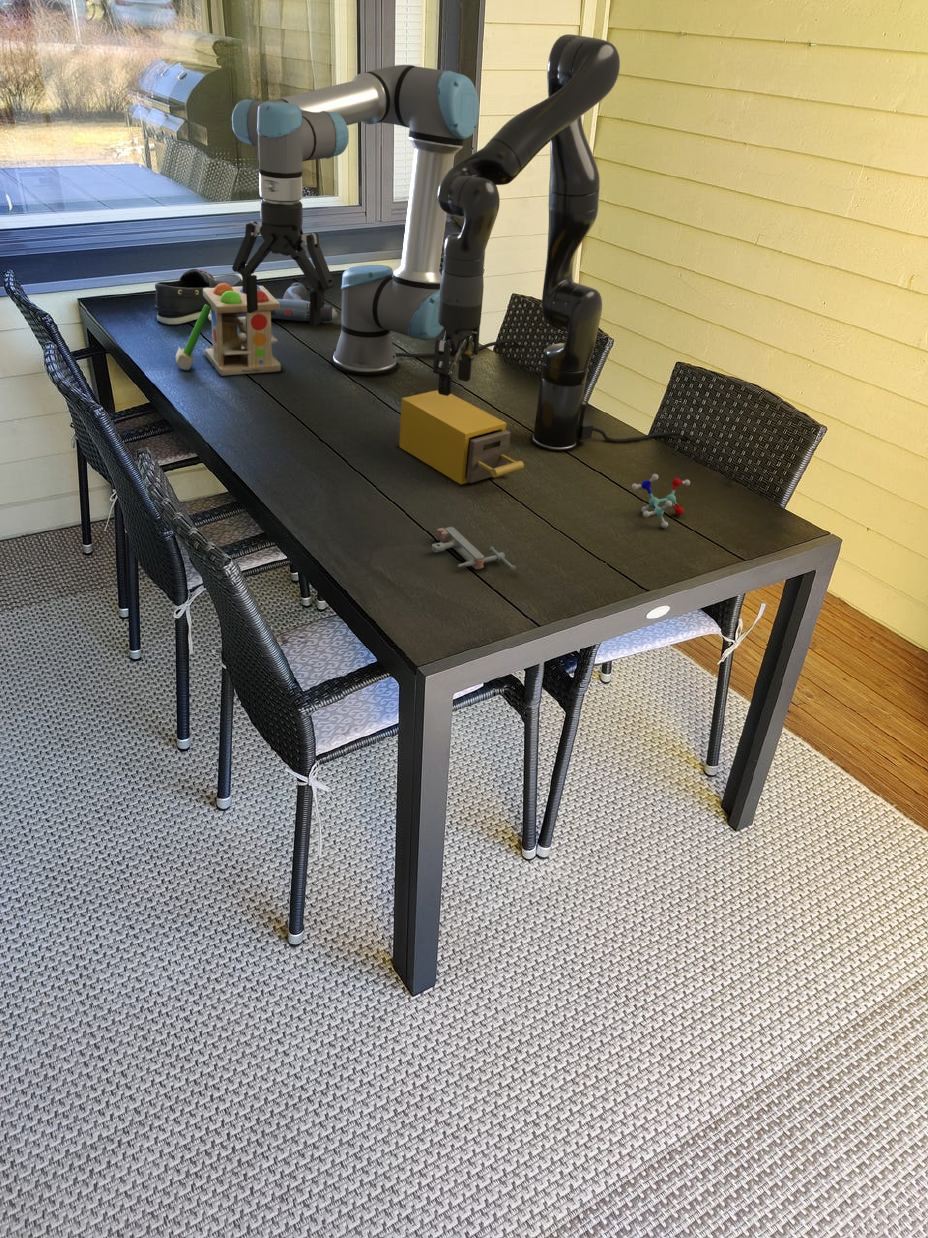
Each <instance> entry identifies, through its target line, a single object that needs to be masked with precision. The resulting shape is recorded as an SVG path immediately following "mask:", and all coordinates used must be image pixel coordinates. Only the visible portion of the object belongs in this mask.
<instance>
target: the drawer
mask: <svg viewBox="0 0 928 1238" xmlns="http://www.w3.org/2000/svg"><path fill="white" fill-rule="evenodd" d="M510 441H511V431H509V430H507V429H506V430H505V431H502V432H498V433H497V430H496V431H492V432H489V433H485V434H481V435H478V436H474V437H470V438H469V443H468V454H467V465H466V474H467V480H466V481H467V482H468V483H469V484H473V483H477V482H479V481H482V480H486V479H489V478H494V479H495V478H498V477H503V476H505V475H509V474H511V473H512V474H513V473H515V472H518V471H521V470H524V468H525V464H524V462H523V460H517V461H516V460H514V459H512V458H511V457H509V448H510Z"/></svg>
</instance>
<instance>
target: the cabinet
mask: <svg viewBox="0 0 928 1238" xmlns="http://www.w3.org/2000/svg"><path fill="white" fill-rule="evenodd" d="M400 405H401V406H400V408H401V409H400V422H399V423H400V424H399V444H398V445H399V446H398V448H401V449H402V450H403V451H405V452H407V453H408V454H410V455H412V456H413V457H415V458H417V459H419V460H420V461H422V462H423V463H425V464H426V465H428V466H430V467H431V468H433V469H435V470H437V471H438V472H440V473H441V474H443V475H444V476H445V477H448V478H449V479H451V480H453V481H454V482H455V483H457V484H459V485H465V484H467V483H469V482H467V481H466V480H467V474H466V465H467V454H468V443H469V438H470V437H474V436H478V435H481V434H485V433H489V432H492V431H496V430H497V433H498V432H502V431H505V430H507V422H505V421H503V420H502V419H499V418H498V417H496V416H494V415H492V414H491V413H489V412H487V411H485V410H482V409H481V408H479V407H478V406H475V405H473V404H471V403H470V402H468V401H465V399H462V398H460V397H459V396H456V395H454V394H452V393H451V394H450V395H448V396H445V395H441V394H439V393H438V389H436V390H432V391H428V392H423V393H418V394H414V395H410V396H409V395H408V396H405V397H401V403H400Z"/></svg>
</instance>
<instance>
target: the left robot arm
mask: <svg viewBox="0 0 928 1238" xmlns="http://www.w3.org/2000/svg"><path fill="white" fill-rule="evenodd" d="M479 115H480V101H479V95H478V92H477V89H476V87H475V85H474V83H473V82H472V80H471V79H470V78H469V77H468V76H466V75H465V74H461V73H459V72H455V71H452V70H442V69H436V68H429V67H423V66H416V65H413V64H399V65H398V64H397V65H392V66H386V67H381V68H377V69H373V70H368V71H364V72H361V73H358V74H356V75H355V76H354V78H352V80H351V81H347V82H343V83H338V84H334V85H330V86H326V87H322V88H317V89H313V90H309V91H305V92H301V93H296V94H292V95H288V96H284V97H279V98H275V99H269V100H266V101H259V100H257V99H242V100H240V101H239V102H237V104H236V105H235V106H234V108H233V111H232V115H231V122H232V123H231V125H232V130H233V133H234V135H235V137H236V138H237V139H238V140H239V141H241V142H243V143H245V144H249V145H251V146H252V147H257V148H258V150H257V151H258V167H259V168H258V170H259V171H258V176H259V177H258V178H259V196H260V198H262V199H261V200H260V201H259V207H260V208H259V210H260V211H259V212H260V213H259V214H260V221H261V224H259V223H258V222H257V221H251V222H249V223H246V224H245V232H244V237H243V239H242V242H241V245H240V247H239V250H238V251H237V252H238V253H237V254H236V257H235V259H234V262H233V264H232V266H231V269H232V271H233V272H235V273H238V274H240V275H241V276H240V277H241V280H242V283H243V292H244V293H245V294H246V295H247V313H252V312H254V311H256V310H258V298H257V285H258V276H257V275H255V271H256V269H257V268H258V267H259V266H260V265H261V263H262V262H264V260H265V258H267V256H268V255H269V254H270V252H271V253H272V254H274V255H277V254H279V255H282V256H286V257H288V256H290V258H291V259H292V260H293V261H295V263H296V264H297V266H298V267H299V269H300V270H301V272H302V274H303V275H304V276H305V278H306V279H307V281H308V282H309V284H310V286H311V287H312V290H309V302H310V321H309V325H310V327H316V326H318V325H320V324H321V322H322V321H321V308H323V307H324V305H325V294H326V293H325V292H326V291H328V290H330V289H331V288H334V286H335V281H334V279H333V276H332V273H331V271H330V269H329V267H328V263H327V261H326V259H325V256H324V254H323V251H322V248H321V246H320V238H319V237H320V236H319V234H318V233H317V232H316V231H315V232H312V233H304V231H303V221H304V219H303V216H304V215H303V214H304V213H303V212H304V211H303V208H304V207H303V203H302V202H301V200H303V162H309V161H314V160H324V159H327V160H330V159H332V158H334V157H338V156H340V155H342V154H343V153H344V152H345V151H346V149H347V147H348V144H349V138H350V135H349V133H350V132H349V128H348V126H351V125H355V124H358V123H363V124H364V125H375V124H389V125H395V126H399V127H404V128H408V129H409V131H408V140H409V142H410V143H411V145H412V146H413V148H414V150H413V158H412V168H411V176H410V185H409V194H408V202H407V211H406V220H405V229H404V237H403V246H402V255H401V261H400V262H401V264H400V266H399V267H397V268H396V269H395V270H394V269H393V268H392V267H391V266H389V265H384V264H361V265H355V266H351V267H349V268H346V269H345V270H344V272H343V273H342V277H341V278H342V280H341V287H340V289H341V293H340V294H341V295H340V296H341V307H340V308H341V310H340V311H341V313H340V314H341V316H340V317H341V319H340V321H341V324H340V325H341V326H340V329H341V330H340V336H339V338H338V341H337V344H336V346H335V347H334V348H333V351H332V353H333V361H332V362H333V363H332V364H333V366H334V367H335V368H337V369H338V370H339V371H342V372H344V373H347V374H352V375H356V376H380V375H381V376H382V375H386V374H389V373H391V372H393V371H395V369H396V368H397V361H398V359H397V357H398V358H432V357H433V358H434V354H435V352H429V353H428V352H427V353H426V352H425V353H409V352H395V347H394V343H393V341H392V337H391V336H392V335H391V332H393V333H396V334H399V335H403V336H406V337H409V338H411V339H414V340H415V339H417V340H421V341H431V340H434V339H435V338H437V337H438V336H439V335H440V334H441V333H442V331H444V330H445V328H444V327H443V326H441V325H440V324H439V323H438V311H439V296H440V282H441V277H442V273H441V271H440V268H441V260H442V253H443V246H444V236H445V230H446V221H447V215H448V214H447V213H446V212H444V211H443V210H442V209H441V207H440V205H439V203H438V189H439V186H440V183H441V181H442V179H443V178H444V176H445V175H446V174H447V173H448V172H449V171H450V170H451V169H452V168H453V167H454V164H455V163H454V161H455V155H456V154H457V153H458V152H459V151H460V150H462V149H463V147H464V141H465V139H469V138H470V137H471V136H472V135H473V134H474V133H475V129H476V127H477V125H478V122H479ZM259 235H260V236H261V237H262V239H263V242H262V243H261V244H260V246H259V247H258V249H257V251H256V252H255V253H254V254H253V256H252V257H251V258H250V255H251V253H252V250H253V248H254V246H255V243H256V241H257V238H258V236H259ZM303 242H304V246H305V247H306V248H307V251H306V249H305V248H304V246H303V245H302V243H303ZM307 252H308V254H309V257H310V258H309V257H308V255H307ZM249 258H250V259H249ZM310 259H311V260H310ZM248 260H249V261H248ZM509 343H510V344H511V343H513V344H515V345H516V346H517V347H521V346H520V345H518V344H516V343H515V342H506V340H505V339H502V340H497V341H491V342H488V343H485V344H483V345H479V348H478V352H479V351H483V350H484V349H487V348H490V347H494V346H499V345H504V344H509Z"/></svg>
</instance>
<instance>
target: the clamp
mask: <svg viewBox="0 0 928 1238" xmlns="http://www.w3.org/2000/svg"><path fill="white" fill-rule="evenodd" d="M436 541H439V542H436V543H432V544H431V551H432V552H433V553H435V554H437V553H441V552H445V551H446V550H447V549H451V548H453V549H454V550H455V551H456V552H457V553H458V554H459V555H460V556H461V557H462V558H463V559H464V560H465V562H462V563H459V564H457V567H458V568H462V567H472V568H473V569H475V570H480V569H483V568H484V563H488V562H492V561H496V562H499V561H502V562H503V563H504V564H505V565H506V566H507V567H508V568H509V569H510V571H511V572H514V571H515V570H516V568H517V567H516V565H514V564H511V563H510V562H509V561H508V560H507V559H506V554H505V552H503V551H501V552H498V551H497V550H495V547H494V546H490V547H489V549H488V551H489V552H490V553H493V554H494V555H491V556H486V557H485V556H484V554H482V553H481V551H479V550H478V549H477V548H476V547H475V546H474V545H473V544H472V543H471V542H470V541H469V540H467V538H466V537H464V535H462V534H461V533H460V532H459V531H458V530H457V529H456V528H455V527H454V526H448V527H445V528H444V527H440V528H437V529H436Z"/></svg>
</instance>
